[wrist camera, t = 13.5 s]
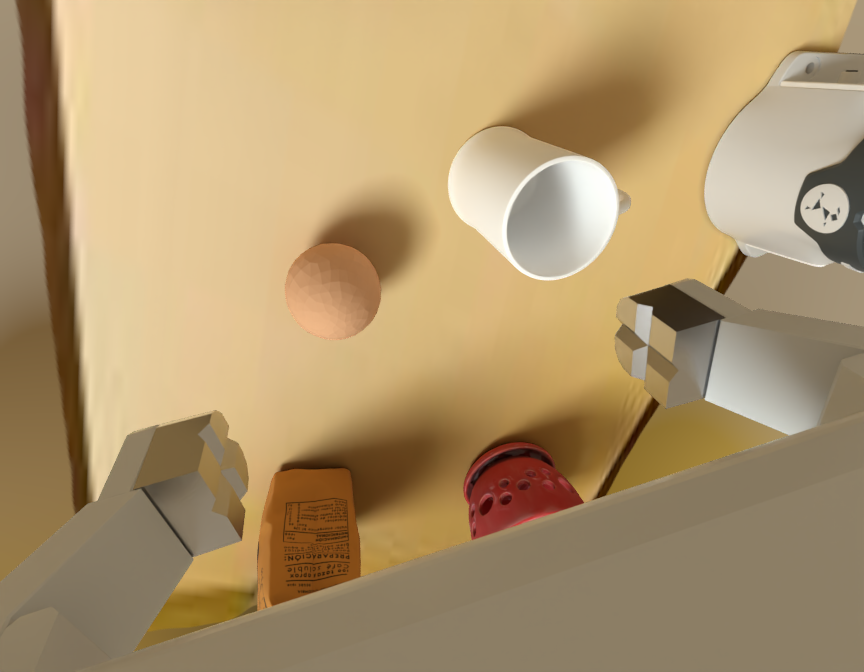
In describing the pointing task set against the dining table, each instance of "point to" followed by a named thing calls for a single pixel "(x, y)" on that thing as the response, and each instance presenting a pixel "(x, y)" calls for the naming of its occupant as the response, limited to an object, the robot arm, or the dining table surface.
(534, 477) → the plant pot
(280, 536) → the coffee package
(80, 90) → the dining table surface
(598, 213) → the mug
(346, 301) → the egg
